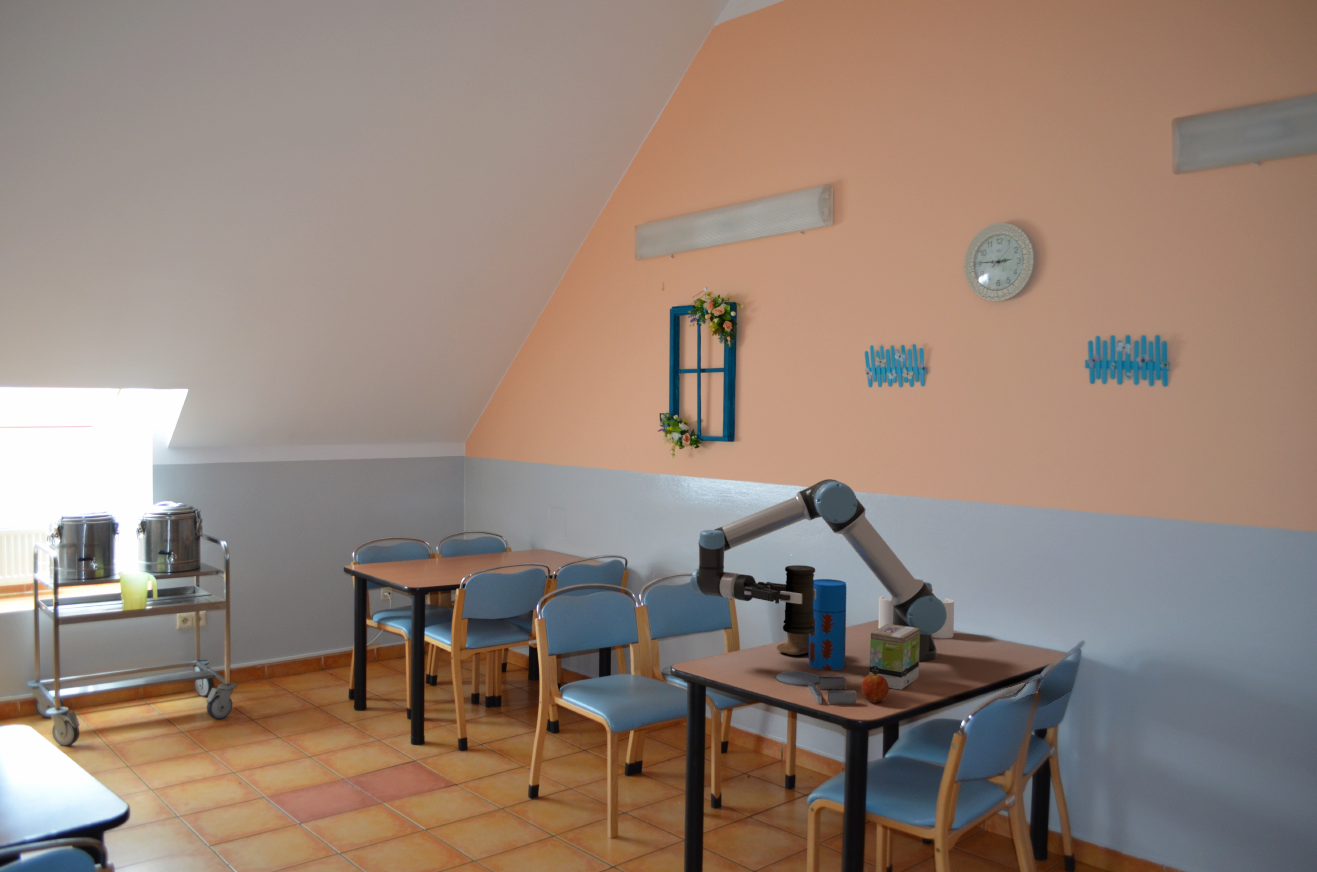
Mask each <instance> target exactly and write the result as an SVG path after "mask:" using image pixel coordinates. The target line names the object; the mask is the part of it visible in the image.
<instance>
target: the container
mask: <svg viewBox="0 0 1317 872" xmlns="http://www.w3.org/2000/svg"><path fill="white" fill-rule="evenodd" d="M784 571H785V572H786V573H785V575H786V578H785V579H786V580H785V584H786V592H792V593H799V594H802V604H797V603H790V602H785V609H784V620H783V626H782V631H784V632H785V633H787V632H788V633H793V634H810V633H813V632H814V631H815V627H814V624H815V622H814V620H813V616H814V611H813V590H814V582H813V580H814V577H815V574H814V573H816V568H815V567H813V566H810V565H802V564H797V565H795V564H794V565H787V566H785V567H784Z"/></svg>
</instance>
